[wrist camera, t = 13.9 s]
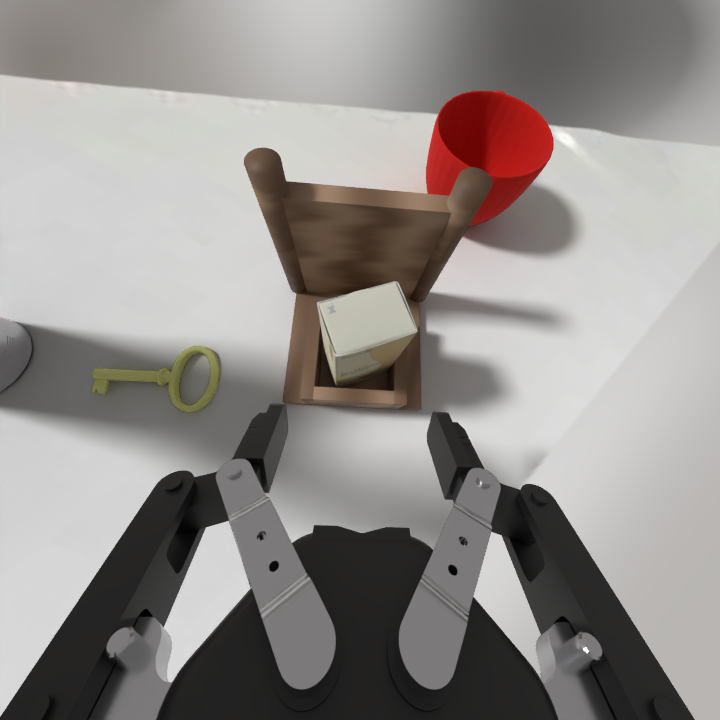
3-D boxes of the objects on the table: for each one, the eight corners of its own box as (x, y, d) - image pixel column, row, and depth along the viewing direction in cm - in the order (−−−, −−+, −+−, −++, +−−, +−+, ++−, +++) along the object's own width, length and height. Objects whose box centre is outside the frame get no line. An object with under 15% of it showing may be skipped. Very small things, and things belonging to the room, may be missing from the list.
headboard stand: (276, 402, 29) (197, 367, 13) (292, 280, 33) (247, 146, 17) (426, 410, 29) (516, 386, 14) (423, 289, 34) (490, 168, 18)
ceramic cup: (509, 169, 40) (561, 86, 31) (493, 257, 36) (548, 192, 26) (429, 146, 41) (455, 57, 31) (402, 230, 36) (424, 157, 26)
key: (104, 373, 29) (85, 369, 27) (217, 344, 31) (208, 338, 28) (108, 437, 27) (89, 438, 25) (228, 403, 29) (219, 401, 27)
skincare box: (336, 390, 28) (330, 360, 17) (324, 354, 29) (310, 302, 18) (390, 372, 29) (421, 331, 18) (377, 337, 30) (398, 277, 19)
